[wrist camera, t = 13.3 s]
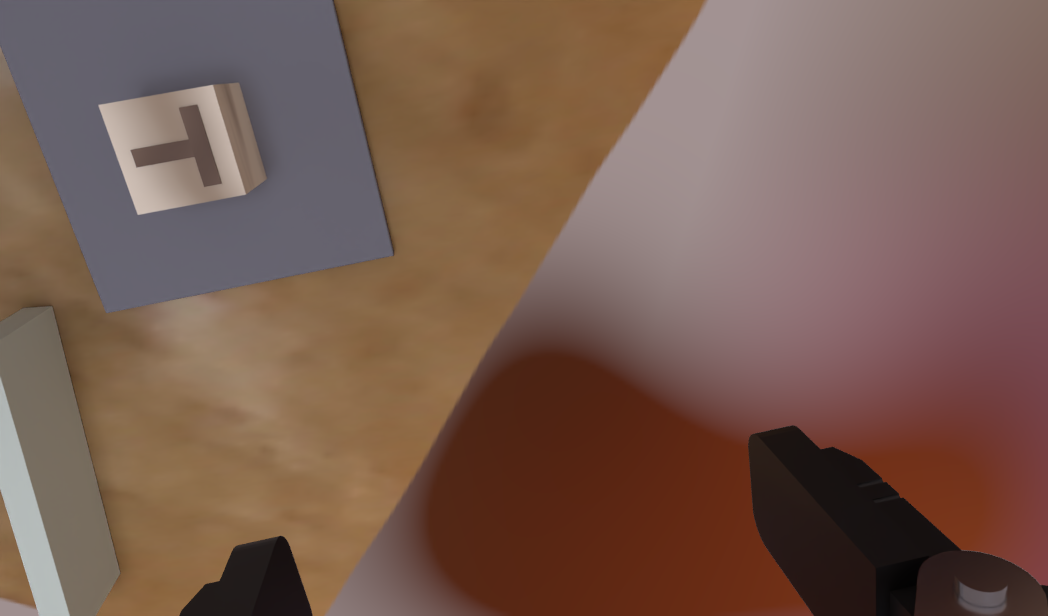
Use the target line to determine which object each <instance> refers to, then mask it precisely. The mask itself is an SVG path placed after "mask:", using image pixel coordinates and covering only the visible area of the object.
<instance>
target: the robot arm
mask: <svg viewBox="0 0 1048 616" xmlns="http://www.w3.org/2000/svg"><path fill="white" fill-rule="evenodd" d="M748 445H749V446H748V448H749V462H750V476H751V490H752V503H753V513H754V518H755V522H756V526H757V529H758V531H759V534H760V537H761V539H762V541H763V543H764V545H765V546H766V548H767V549H768V551H769V552H770V554H771V555H772V556H773V558H774V559H775V561H776V562H777V564H778V565H779V567H780V568H781V569H782V571H783V572H784V574H785V575H786V576H787V578H788V579H789V581H790V582H791V584H792V585H793V587H794V588H795V589H796V591H797V592H798V594H799V595H800V597H801V598H802V599H803V601H804V602H805V603H806V605H807V606H808V608H809V609H810V611H811V612H812V614H813V615H814V616H1048V586H1045V585H1040V584H1039V583H1038V582H1037V581H1036V579H1035V578H1034V577H1032V576H1031V575H1030V574H1029V573H1028V572H1026V571H1025V570H1023V569H1022V568H1020V567H1019V566H1017V565H1015V564H1013V563H1011V562H1009V561H1007V560H1005V559H1002V558H1000V557H996V556H993V555H990V554H986V553H981V552H975V551H964V550H961V549H959V548H958V547H957V546H956V545H955V544H954V543H953V542H952V541H951V540H950V539H948V538H947V537H946V536H945V535H944V534H943V533H942V532H941V531H939V530H938V529H937V528H936V527H935V526H934V525H933V524H932V523H931V522H929V521H928V520H927V519H926V518H925V517H924V516H923V515H922V514H921V513H920V512H919V511H917V510H916V509H915V508H914V507H913V506H912V505H911V504H910V503H909V502H908V501H906V500H905V499H904V498H900V496H899V493H898V492H897V491H895V490H894V489H893V488H892V487H891V486H890V485H888V483H887V482H883V481H882V478H881V477H880V476H879V475H878V474H877V473H875V472H874V471H873V470H872V469H871V468H870V467H869V466H868V465H866V463H864V462H863V461H862V460H860V459H858V458H856V457H854V456H852V455H850V454H847V453H845V452H843V451H841V450H839V449H836V448H834V447H830V448H825V449H820V448H819V447H818V446H816V445H815V444H814V443H813V442H812V441H811V440H810V439H809V438H808V437H807V436H806V435H805V434H804V433H803V432H802V431H801V430H800V429H799V428H798V427H796V426H787V427H783V428H778V429H774V430H770V431H765V432H761V433H755V434H752V435H751V436H750V438H749V443H748ZM179 616H312V611H311V608H310V604H309V601H308V599H307V596H306V593H305V590H304V587H303V584H302V581H301V578H300V575H299V572H298V569H297V566H296V563H295V560H294V557H293V554H292V551H291V548H290V546H289V544H288V542H287V540H286V539H285V538H284V537H283V536H278V537H274V538H269V539H265V540H260V541H255V542H251V543H246V544H242V545H237V546H236V547H235V548H234V549H233V551H232V553H231V555H230V558H229V560H228V562H227V565H226V567H225V570H224V572H223V574H222V577H221V579H220V581H218V582H214V583H209V584H205V585H204V587H203V588H202V589H201V590H200V591H199V592H198V593H197V594H196V595H195V596H194V598H193V599H192V600H191V601H190V602H189V603H188V604H187V605H186V606H185V607H184V608H183V610H182V611H181V613H180V615H179Z"/></svg>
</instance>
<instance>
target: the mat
mask: <svg viewBox="0 0 1048 616" xmlns="http://www.w3.org/2000/svg"><path fill="white" fill-rule="evenodd" d="M0 46H1V49H2V51H3V54H4V56H5V59H6V61H7V64H8V67H9V69H10V72H11V74H12V77H13V79H14V82H15V84H16V87H17V89H18V92H19V94H20V97H21V99H22V102H23V104H24V107H25V109H26V112H27V114H28V117H29V119H30V122H31V125H32V127H33V130H34V132H35V135H36V137H37V140H38V142H39V145H40V147H41V150H42V152H43V155H44V157H45V160H46V162H47V165H48V167H49V170H50V172H51V175H52V177H53V180H54V183H55V185H56V188H57V190H58V193H59V195H60V198H61V200H62V203H63V205H64V208H65V210H66V213H67V215H68V218H69V220H70V223H71V225H72V228H73V230H74V233H75V235H76V238H77V241H78V243H79V246H80V248H81V251H82V253H83V256H84V258H85V261H86V263H87V266H88V268H89V271H90V273H91V276H92V278H93V281H94V283H95V286H96V288H97V291H98V293H99V296H100V299H101V301H102V304H103V306H104V309H105V311H106V313H110V312H115V311H120V310H125V309H129V308H134V307H139V306H144V305H149V304H154V303H159V302H164V301H169V300H174V299H179V298H184V297H189V296H194V295H199V294H204V293H209V292H214V291H219V290H224V289H229V288H234V287H239V286H244V285H249V284H254V283H259V282H264V281H269V280H274V279H279V278H284V277H289V276H294V275H299V274H304V273H309V272H314V271H319V270H324V269H329V268H334V267H339V266H344V265H349V264H354V263H359V262H364V261H369V260H374V259H379V258H384V257H389V256H394V250H393V246H392V242H391V238H390V233H389V229H388V225H387V221H386V217H385V213H384V208H383V204H382V200H381V196H380V192H379V188H378V184H377V179H376V175H375V171H374V167H373V163H372V159H371V154H370V150H369V146H368V142H367V138H366V134H365V129H364V125H363V121H362V117H361V113H360V109H359V104H358V100H357V96H356V92H355V88H354V84H353V79H352V75H351V71H350V67H349V63H348V59H347V55H346V50H345V46H344V42H343V38H342V34H341V30H340V25H339V21H338V17H337V13H336V9H335V5H334V0H0ZM228 83H239V84H240V88H241V91H242V94H243V98H244V101H245V105H246V108H247V112H248V115H249V118H250V122H251V125H252V129H253V132H254V136H255V139H256V142H257V146H258V149H259V153H260V156H261V160H262V163H263V167H264V170H265V173H266V177H267V179H266V180H265V181H264V182H262V183H261V184H259V185H258V186H257V187H255V188H254V189H253V190H251V191H250V192H249V193H247V194H246V195H241V196H236V197H230V198H225V199H220V200H215V201H209V202H204V203H199V204H193V205H188V206H183V207H178V208H172V209H167V210H162V211H156V212H151V213H146V214H141V215H138V214H137V211H136V209H135V206H134V203H133V200H132V197H131V195H130V192H129V189H128V186H127V184H126V181H125V178H124V175H123V172H122V170H121V167H120V164H119V161H118V159H117V156H116V153H115V150H114V147H113V145H112V142H111V139H110V136H109V134H108V131H107V128H106V125H105V123H104V120H103V117H102V114H101V111H100V109H99V106H98V105H101V104H107V103H113V102H118V101H124V100H130V99H135V98H141V97H147V96H152V95H158V94H164V93H169V92H175V91H181V90H186V89H192V88H198V87H203V86H209V85H216V84H228Z"/></svg>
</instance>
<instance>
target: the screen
mask: <svg viewBox="0 0 1048 616" xmlns="http://www.w3.org/2000/svg"><path fill="white" fill-rule="evenodd" d="M0 489H1V493H2V496H3V499H4V502H5V506H6V509H7V512H8V516H9V519H10V522H11V525H12V529H13V532H14V535H15V538H16V542H17V545H18V548H19V551H20V555H21V558H22V561H23V564H24V568H25V571H26V574H27V577H28V581H29V584H30V587H31V590H32V594H33V597H34V600H35V603H36V607H37V610H38V613H39V616H96V614H97V613H98V611H99V609H100V607H101V606H102V604H103V602H104V601H105V599H106V597H107V595H108V594H109V592H110V590H111V589H112V587H113V585H114V584H115V582H116V580H117V578H118V577H119V575H120V570H119V566H118V562H117V558H116V554H115V550H114V546H113V542H112V538H111V535H110V531H109V527H108V523H107V519H106V515H105V511H104V507H103V503H102V499H101V495H100V491H99V488H98V484H97V480H96V476H95V472H94V468H93V464H92V460H91V456H90V452H89V448H88V444H87V441H86V437H85V433H84V429H83V425H82V421H81V417H80V413H79V409H78V405H77V401H76V397H75V393H74V390H73V386H72V382H71V378H70V374H69V370H68V366H67V362H66V358H65V354H64V350H63V346H62V343H61V339H60V335H59V331H58V327H57V323H56V319H55V315H54V311H53V307H52V306H46V307H31V308H22V309H21V310H19V311H17V312H16V313H14V314H12V315H11V316H9V317H8V318H6V319H4V320H3V321H1V322H0Z"/></svg>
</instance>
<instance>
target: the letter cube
mask: <svg viewBox="0 0 1048 616" xmlns="http://www.w3.org/2000/svg"><path fill="white" fill-rule="evenodd" d="M98 106H99V109H100V111H101V114H102V117H103V120H104V123H105V125H106V128H107V131H108V134H109V136H110V139H111V142H112V145H113V147H114V150H115V153H116V156H117V159H118V161H119V164H120V167H121V170H122V172H123V175H124V178H125V181H126V184H127V186H128V189H129V192H130V195H131V197H132V200H133V203H134V206H135V209H136V211H137V214H138V215H141V214H146V213H151V212H156V211H162V210H167V209H172V208H178V207H183V206H188V205H193V204H199V203H204V202H209V201H215V200H220V199H225V198H230V197H236V196H241V195H246V194H247V193H249V192H250V191H251V190H253V189H254V188H255V187H257V186H258V185H259V184H261V183H262V182H264V181H265V180H266V179H267V177H266V173H265V170H264V167H263V163H262V160H261V156H260V153H259V149H258V146H257V142H256V139H255V136H254V132H253V129H252V125H251V122H250V118H249V115H248V112H247V108H246V105H245V101H244V98H243V94H242V91H241V88H240V84H239V83H228V84H216V85H209V86H203V87H198V88H192V89H186V90H181V91H175V92H169V93H164V94H158V95H152V96H147V97H141V98H135V99H130V100H124V101H118V102H113V103H107V104H101V105H98Z"/></svg>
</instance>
